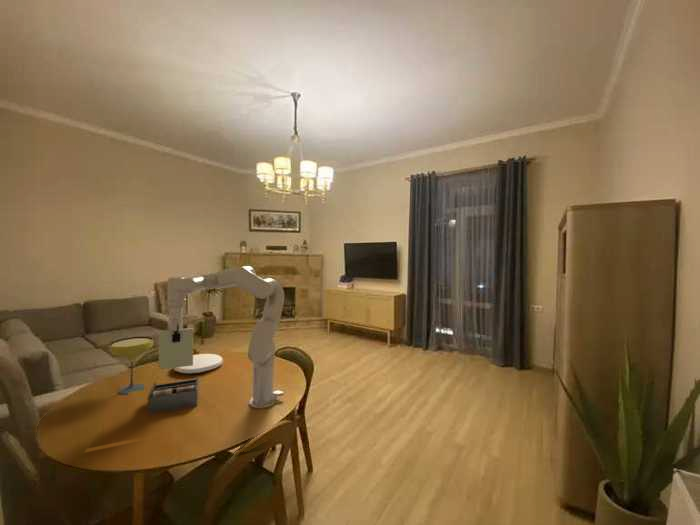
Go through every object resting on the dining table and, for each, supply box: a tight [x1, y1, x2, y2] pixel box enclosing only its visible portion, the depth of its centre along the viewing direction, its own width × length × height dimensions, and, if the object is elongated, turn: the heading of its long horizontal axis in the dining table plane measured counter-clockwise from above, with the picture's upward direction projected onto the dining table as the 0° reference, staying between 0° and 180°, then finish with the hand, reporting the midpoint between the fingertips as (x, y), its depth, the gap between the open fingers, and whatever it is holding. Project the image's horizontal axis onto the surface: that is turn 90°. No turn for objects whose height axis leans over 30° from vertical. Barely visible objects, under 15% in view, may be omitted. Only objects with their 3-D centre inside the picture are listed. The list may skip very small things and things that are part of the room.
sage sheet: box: [158, 327, 194, 370], centre depth 137 cm, size 14×1×18 cm, turn 116°
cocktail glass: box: [108, 336, 154, 395], centre depth 148 cm, size 18×18×25 cm
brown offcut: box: [153, 388, 172, 397], centre depth 129 cm, size 7×3×8 cm, turn 115°
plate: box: [173, 353, 224, 374], centre depth 178 cm, size 28×6×27 cm
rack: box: [147, 376, 200, 416], centre depth 134 cm, size 19×14×9 cm
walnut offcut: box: [176, 385, 194, 393], centre depth 133 cm, size 7×3×8 cm, turn 116°
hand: (176, 341), depth 137 cm, fingers closed on sage sheet, 1 cm apart
